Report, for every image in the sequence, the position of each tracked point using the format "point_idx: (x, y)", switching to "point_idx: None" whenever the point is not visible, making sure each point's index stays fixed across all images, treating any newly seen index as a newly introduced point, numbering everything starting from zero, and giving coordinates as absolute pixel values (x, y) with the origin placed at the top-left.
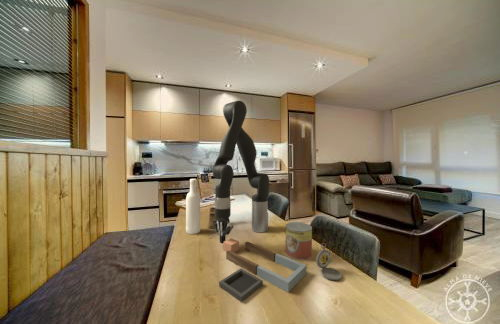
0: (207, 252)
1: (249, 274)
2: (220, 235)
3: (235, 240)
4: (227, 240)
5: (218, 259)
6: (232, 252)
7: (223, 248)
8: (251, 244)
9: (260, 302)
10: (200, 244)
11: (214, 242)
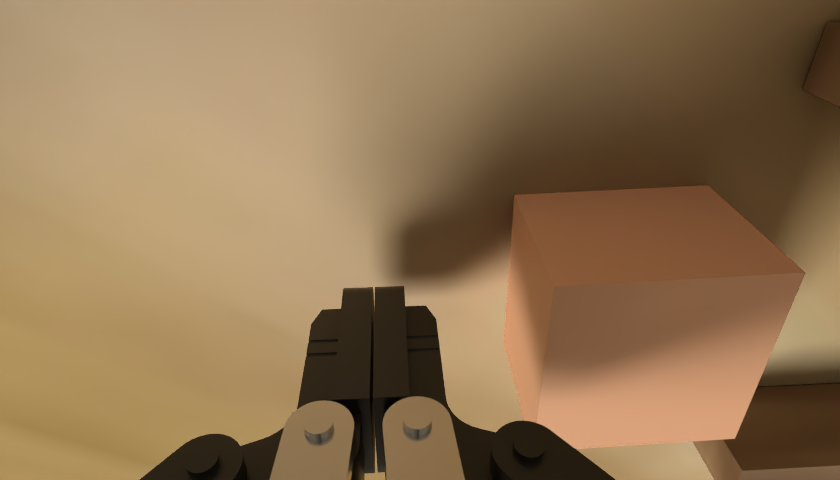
0: None
1: None
2: (365, 471)
3: (704, 293)
4: (556, 389)
5: (611, 466)
6: (823, 473)
7: (510, 361)
8: None
9: None
10: (113, 443)
11: (168, 297)
